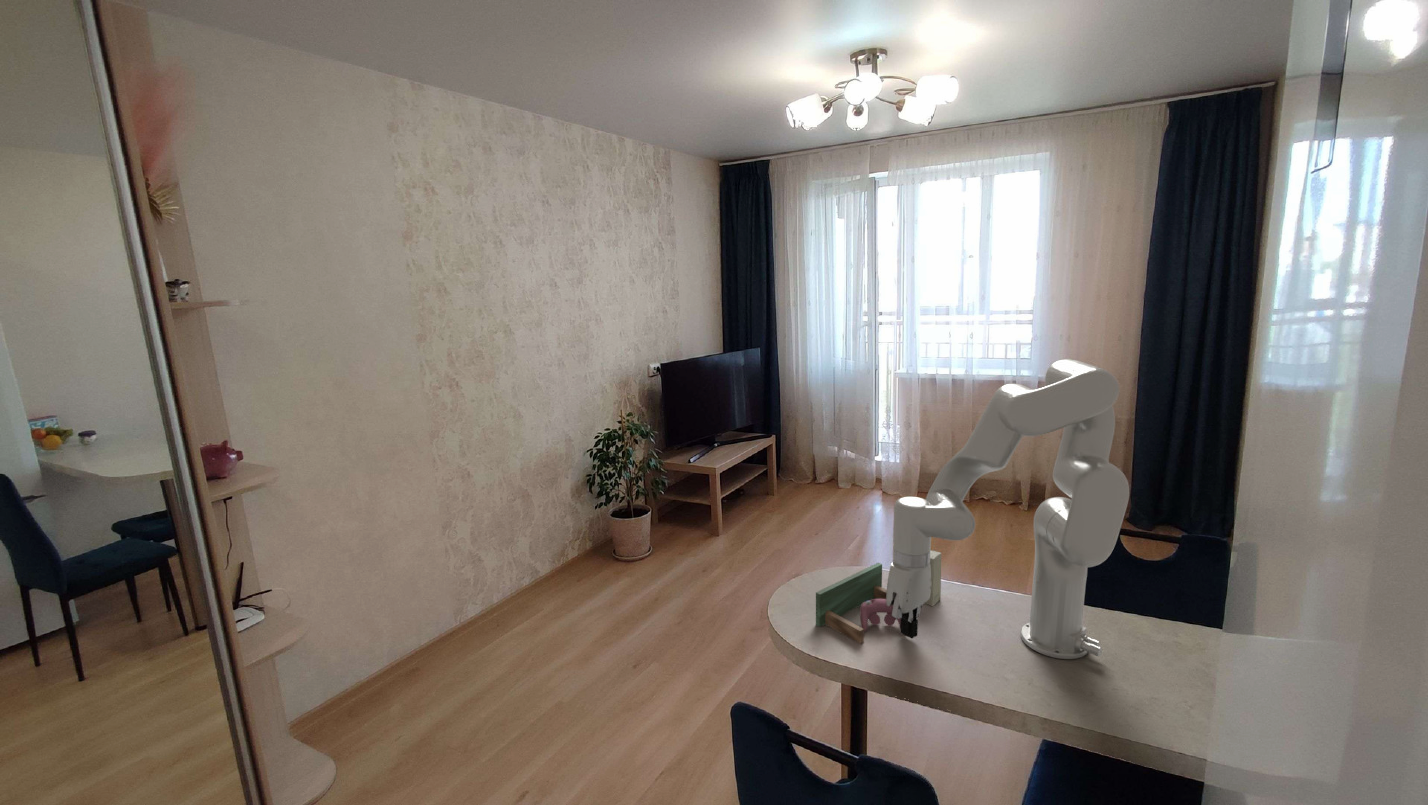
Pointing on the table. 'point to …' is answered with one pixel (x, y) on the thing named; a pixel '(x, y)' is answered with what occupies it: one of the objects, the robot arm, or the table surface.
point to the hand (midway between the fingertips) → (908, 634)
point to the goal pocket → (849, 600)
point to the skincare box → (935, 577)
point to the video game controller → (871, 610)
